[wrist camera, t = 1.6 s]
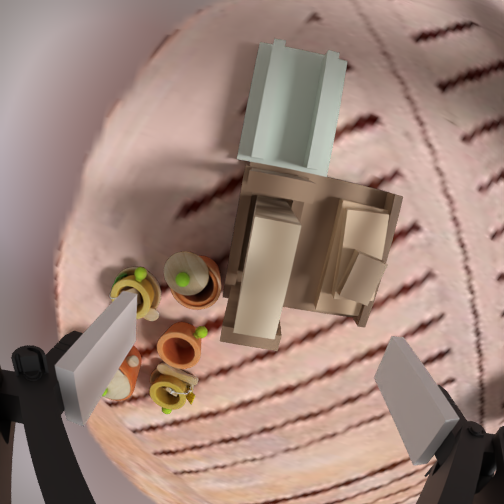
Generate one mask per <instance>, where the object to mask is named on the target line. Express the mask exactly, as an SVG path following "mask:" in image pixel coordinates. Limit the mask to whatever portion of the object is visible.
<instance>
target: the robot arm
mask: <svg viewBox="0 0 504 504" xmlns="http://www.w3.org/2000/svg"><path fill="white" fill-rule="evenodd" d="M136 315H137V294H134V293H130V292H126V291H123V292H122V293H121V294H120V295H119V296H118V297H117V298H116V299H115V300H114V301H113V302H112V303H111V304H110V305H109V306H108V307H107V308H106V309H105V311H104V312H103V313H102V314H101V315H100V316H99V317H98V318H97V319H96V320H95V321H94V322H93V323H92V324H91V326H90V327H89V328H88V329H87V330H86V331H85V332H84V333H80V332H77V331H73V332H71V333H69V334H67V335H65V336H64V337H63V338H62V339H61V340H60V341H59V343H57V344H56V345H55V346H54V348H52V349H51V350H50V351H49V352H48V353H47V354H46V355H45V353H44V351H43V350H42V349H41V348H39V347H36V346H28V345H27V346H22V347H20V348H18V349H16V350H15V351H14V352H13V353H12V357H11V358H12V362H13V366H14V370H15V372H13V371H8V370H2V369H1V367H0V504H11V472H12V455H13V441H14V432H15V423H16V422H18V423H22V424H24V428H25V433H26V438H27V442H28V446H29V451H30V454H31V458H32V462H33V466H34V469H35V473H36V476H37V480H38V483H39V486H40V489H41V492H42V495H43V498H44V501H45V504H96V503H95V501H94V499H93V497H92V495H91V493H90V490H89V488H88V486H87V484H86V481H85V479H84V477H83V475H82V472H81V470H80V467H79V465H78V463H77V460H76V457H75V455H74V452H73V450H72V447H71V444H70V442H69V439H68V436H67V433H66V430H65V427H64V424H63V421H62V418H61V414H62V413H63V411H65V415H66V419H67V420H68V421H71V422H73V423H76V424H78V425H81V426H84V425H85V424H86V422H87V420H88V419H89V417H90V415H91V413H92V412H93V410H94V408H95V407H96V405H97V403H98V402H99V400H100V398H101V397H102V395H103V393H104V392H105V390H106V388H107V387H108V385H109V383H110V382H111V380H112V378H113V377H114V375H115V374H116V372H117V370H118V369H119V367H120V365H121V364H122V362H123V361H124V359H125V357H126V356H127V354H128V353H129V351H130V349H131V348H132V346H133V345H134V343H135V342H136ZM374 379H375V381H376V383H377V385H378V387H379V389H380V391H381V394H382V396H383V398H384V400H385V402H386V404H387V407H388V409H389V411H390V413H391V415H392V418H393V420H394V422H395V424H396V426H397V429H398V431H399V433H400V436H401V438H402V440H403V442H404V445H405V447H406V449H407V452H408V454H409V456H410V459H411V461H412V463H413V465H421V464H427V463H428V462H429V461H430V459H431V458H432V457H433V456H434V454H435V456H436V458H437V461H436V462H435V464H434V465H433V466H432V467H431V468H430V470H429V471H428V472H427V473H426V475H425V477H427V476H428V474H429V476H428V479H427V481H426V483H425V486H424V488H423V490H422V492H421V494H420V497H419V499H418V501H417V503H416V504H504V426H502V427H500V428H499V430H498V431H497V433H496V434H489V433H486V432H485V430H484V428H483V427H482V426H481V425H479V424H478V423H475V422H472V421H470V422H467V420H466V419H465V417H464V416H463V414H462V413H461V411H460V410H459V408H458V407H457V405H455V402H454V401H453V399H451V396H450V395H449V394H448V392H447V391H446V390H445V389H444V388H442V387H441V386H440V385H437V384H436V382H435V381H434V380H433V378H432V377H431V375H430V374H429V372H428V371H427V369H426V368H425V367H424V365H423V364H422V362H421V361H420V360H419V358H418V357H417V355H416V354H415V353H414V351H413V350H412V348H411V347H410V346H409V344H408V343H407V342H406V340H405V339H404V337H395V336H391V339H390V341H389V344H388V346H387V349H386V351H385V353H384V356H383V358H382V361H381V363H380V365H379V367H378V370H377V372H376V374H375V376H374ZM495 470H496V473H495V475H494V471H495Z"/></svg>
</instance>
